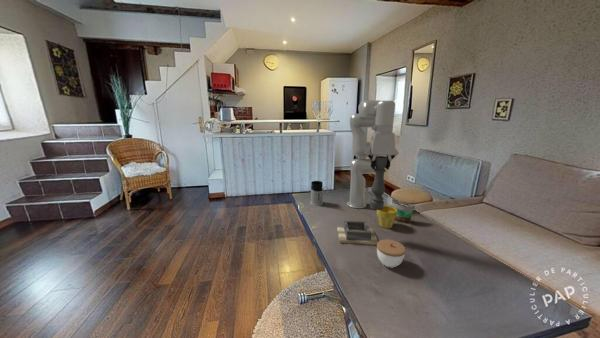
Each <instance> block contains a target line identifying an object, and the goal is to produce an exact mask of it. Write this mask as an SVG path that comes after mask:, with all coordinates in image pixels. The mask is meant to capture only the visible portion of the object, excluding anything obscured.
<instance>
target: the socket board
mask: <svg viewBox="0 0 600 338" xmlns="http://www.w3.org/2000/svg"><path fill="white" fill-rule="evenodd" d="M336 230H337V235H338V241H339V243H340V244H355V245H356V244H360V245H377V243H378V242H379V240H378V238H377V236H376V234H375V231H374V229H373V228H371V227H369V224H368V223H367V221H363V220H362V221H360V220H359V221H356V220H344V221H343V226H337V229H336Z"/></svg>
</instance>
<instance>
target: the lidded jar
mask: <svg viewBox="0 0 600 338" xmlns="http://www.w3.org/2000/svg"><path fill="white" fill-rule="evenodd" d="M405 254H406V248H405V246H404V245H403V244H402V243H400V242H398V241H396V240H392V239H381V240H378V243H377V244H376V255H377V258H378V260H379V261H380V262H381V264H382V265H383V266H384V265H385V267H386V268H389V267H390V268H389V269H394V267H395V268H397V267H398V266H400V265H401V264H402V263H403V261H404V259H405Z"/></svg>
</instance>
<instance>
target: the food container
mask: <svg viewBox="0 0 600 338" xmlns="http://www.w3.org/2000/svg"><path fill="white" fill-rule="evenodd" d="M391 207H393V208H395V209H396V210H397V216H396V218H395V219H394V221H396V222H397V223H402V224H408V223H410V222H411V220H412V218H413V217H412V216H413V214H414V213H413V212H414V210H415V209H416V206H415V205H408V204H405V203H395V202H394V201H392V202H391Z"/></svg>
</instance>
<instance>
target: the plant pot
mask: <svg viewBox="0 0 600 338" xmlns="http://www.w3.org/2000/svg"><path fill="white" fill-rule="evenodd" d="M376 215H377V217H378V218H377V219H378V225H379V226H380V227H381V228H384V229H391V228H393V225H394V222H395V220H394V219H395V218H396V216H397V210H396V209H395V208H393V206H391V205H384V206H383V209H382V210H376Z"/></svg>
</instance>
